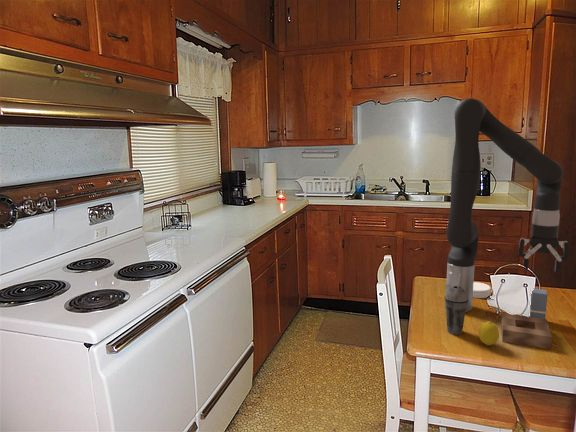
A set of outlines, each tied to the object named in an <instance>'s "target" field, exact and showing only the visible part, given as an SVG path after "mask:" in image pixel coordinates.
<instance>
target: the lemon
mask: <svg viewBox="0 0 576 432" xmlns="http://www.w3.org/2000/svg"><path fill="white" fill-rule="evenodd" d="M478 331H479V332H478V336H479V339H480V341H481V342H482V343H483V344H485V345H486V346H487V347H490V346H493V345H495V344H497V342H498V340H499V339H500V331H499V327H498V326H497V325H496V324H495V323H493V322H492V321H490V320H489V321H485V322H483V323H481V324H480V327H479V330H478Z"/></svg>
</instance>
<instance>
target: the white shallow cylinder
mask: <svg viewBox="0 0 576 432" xmlns="http://www.w3.org/2000/svg"><path fill="white" fill-rule="evenodd" d="M491 292H492V287H491V285H489V284H486V283H483V282H478V281H474V283H473V298H476V299H487V297H488V296H489V295H490V296H491V295H492V293H491ZM488 298H489V297H488Z"/></svg>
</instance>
